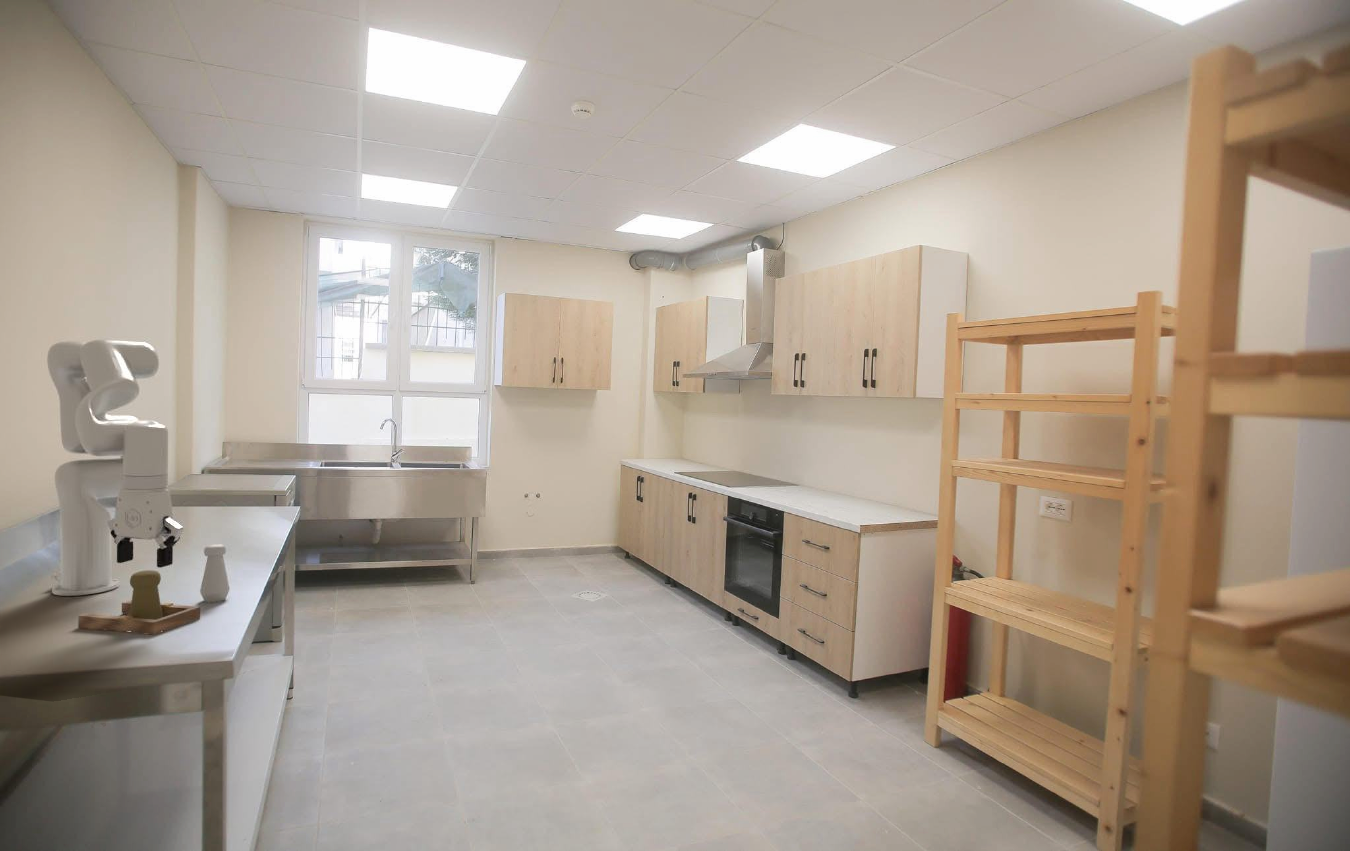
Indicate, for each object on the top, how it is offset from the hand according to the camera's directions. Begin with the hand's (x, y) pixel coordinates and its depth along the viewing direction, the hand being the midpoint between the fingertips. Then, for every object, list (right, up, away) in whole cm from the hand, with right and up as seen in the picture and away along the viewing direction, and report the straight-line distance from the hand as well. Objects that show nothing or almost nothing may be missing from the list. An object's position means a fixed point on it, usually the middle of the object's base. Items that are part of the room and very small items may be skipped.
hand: (144, 563), depth 150 cm
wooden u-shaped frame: (-2, -13, 0) cm, 13 cm away
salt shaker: (+3, -12, +18) cm, 22 cm away
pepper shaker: (0, -13, 0) cm, 13 cm away
